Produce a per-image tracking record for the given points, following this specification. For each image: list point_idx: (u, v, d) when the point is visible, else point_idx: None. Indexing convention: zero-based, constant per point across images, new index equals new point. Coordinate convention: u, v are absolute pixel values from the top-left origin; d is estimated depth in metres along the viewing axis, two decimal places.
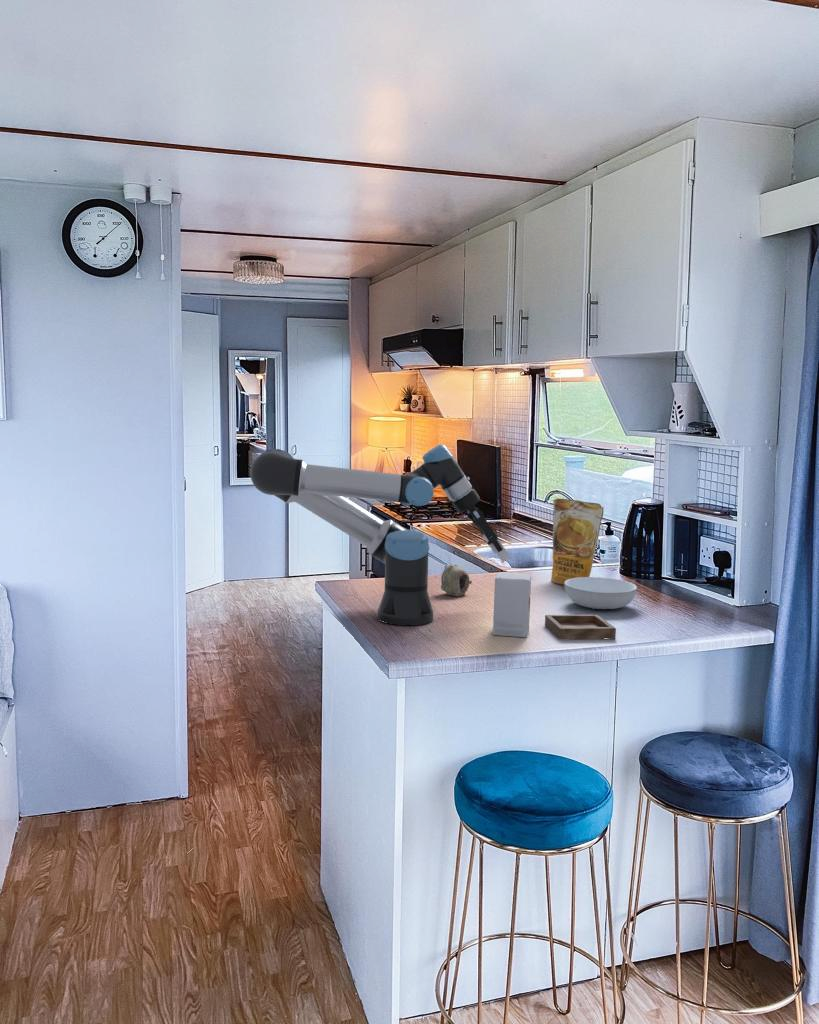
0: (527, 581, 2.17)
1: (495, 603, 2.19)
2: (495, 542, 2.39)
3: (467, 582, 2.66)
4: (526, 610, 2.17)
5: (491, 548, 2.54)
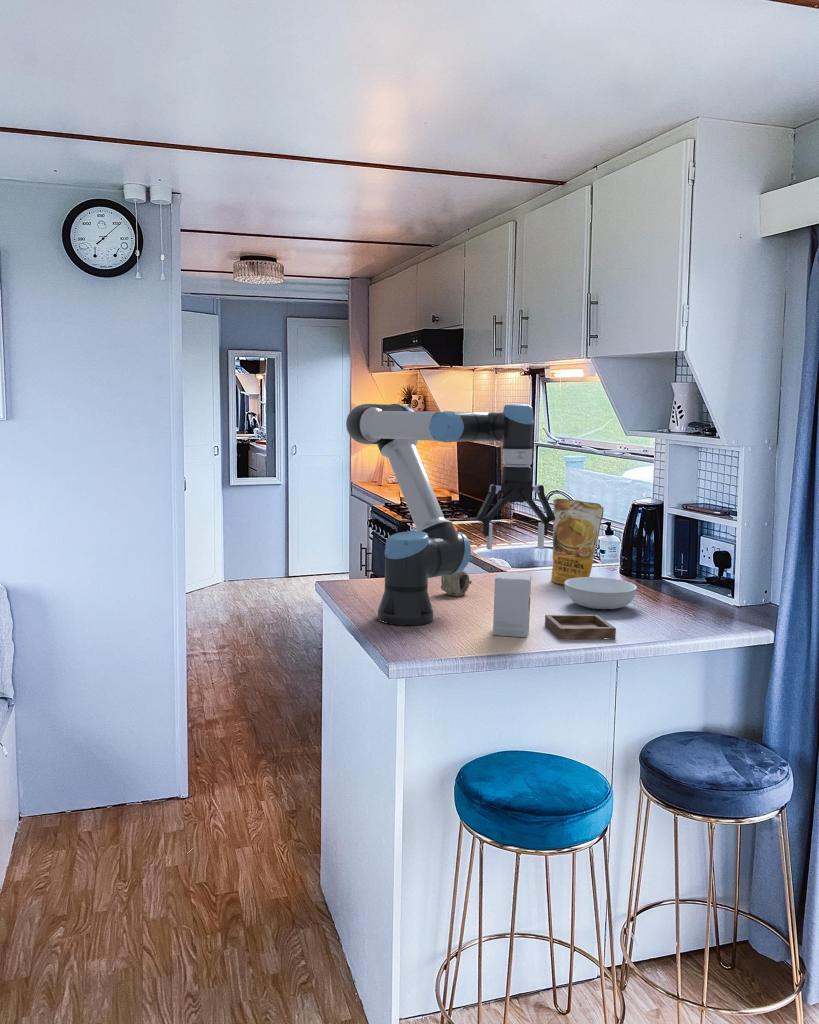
0: (527, 581, 2.17)
1: (495, 603, 2.19)
2: (483, 524, 2.20)
3: (467, 582, 2.66)
4: (526, 610, 2.17)
5: None
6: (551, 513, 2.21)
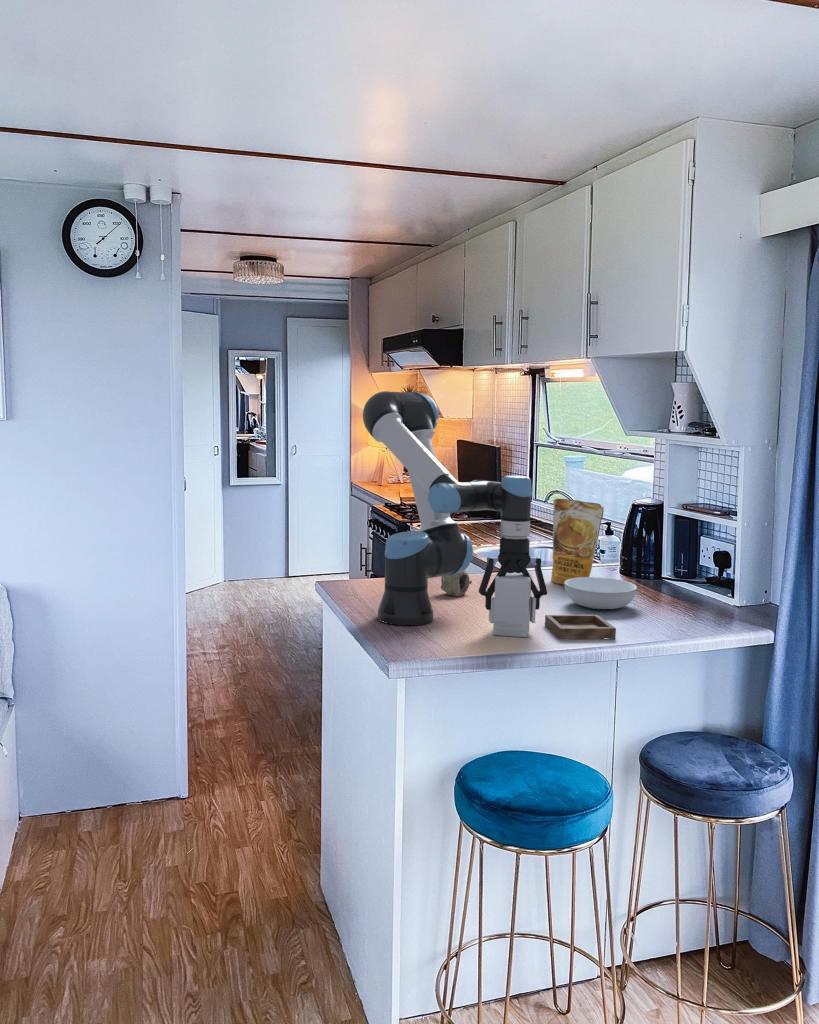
0: (527, 581, 2.17)
1: (495, 603, 2.19)
2: (486, 598, 2.21)
3: (467, 582, 2.66)
4: (526, 610, 2.17)
5: (530, 613, 2.24)
6: (544, 587, 2.21)
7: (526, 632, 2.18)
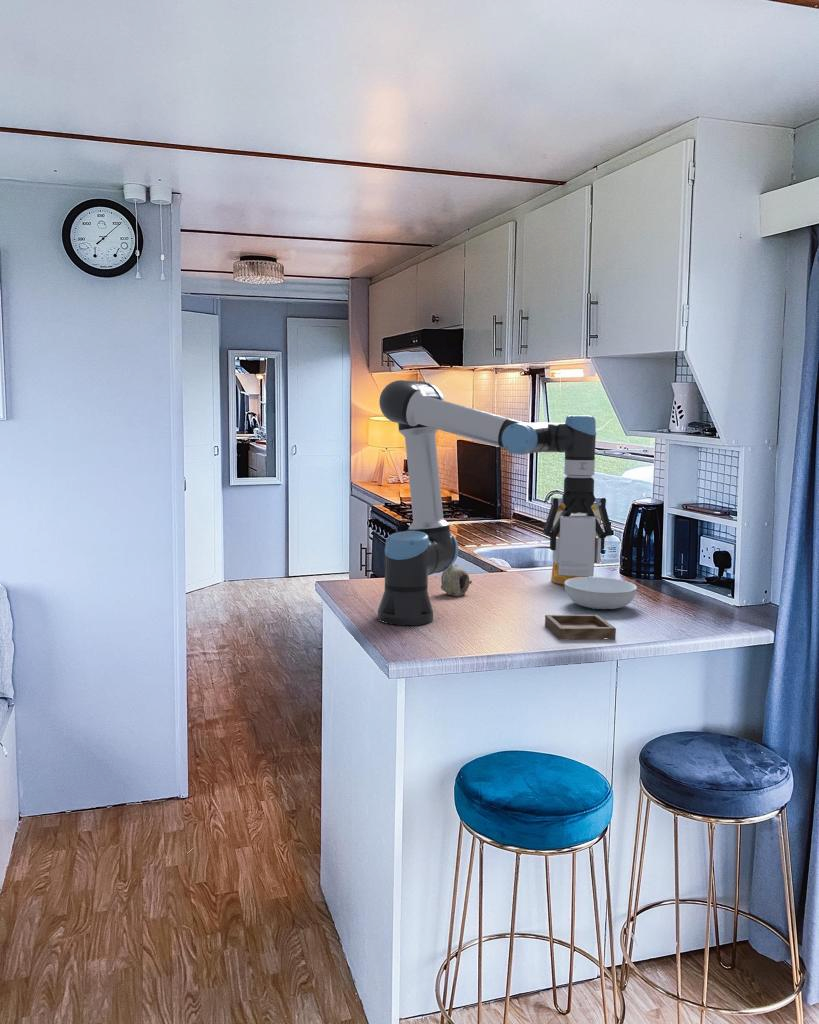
0: (593, 519, 2.16)
1: (561, 543, 2.18)
2: (550, 538, 2.21)
3: (467, 582, 2.66)
4: (592, 549, 2.17)
5: None
6: (609, 527, 2.21)
7: (592, 571, 2.17)
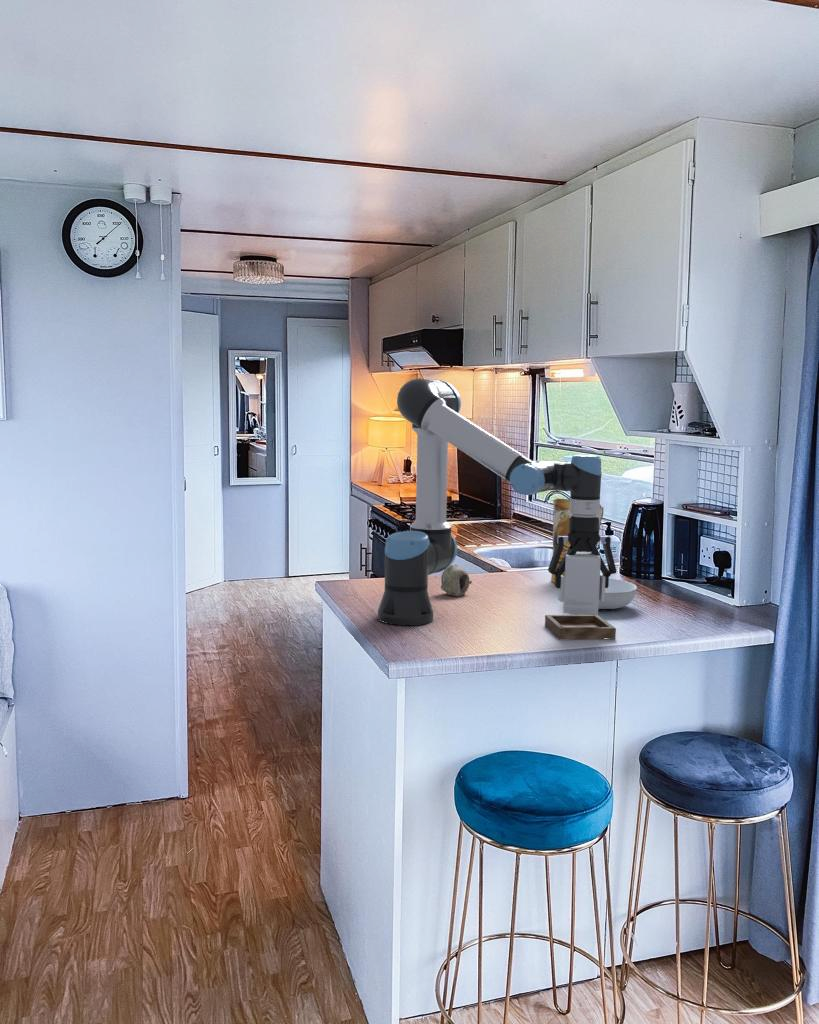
0: (598, 559, 2.18)
1: (566, 581, 2.20)
2: (555, 576, 2.22)
3: (467, 582, 2.66)
4: (597, 588, 2.19)
5: None
6: (613, 566, 2.23)
7: (597, 610, 2.19)
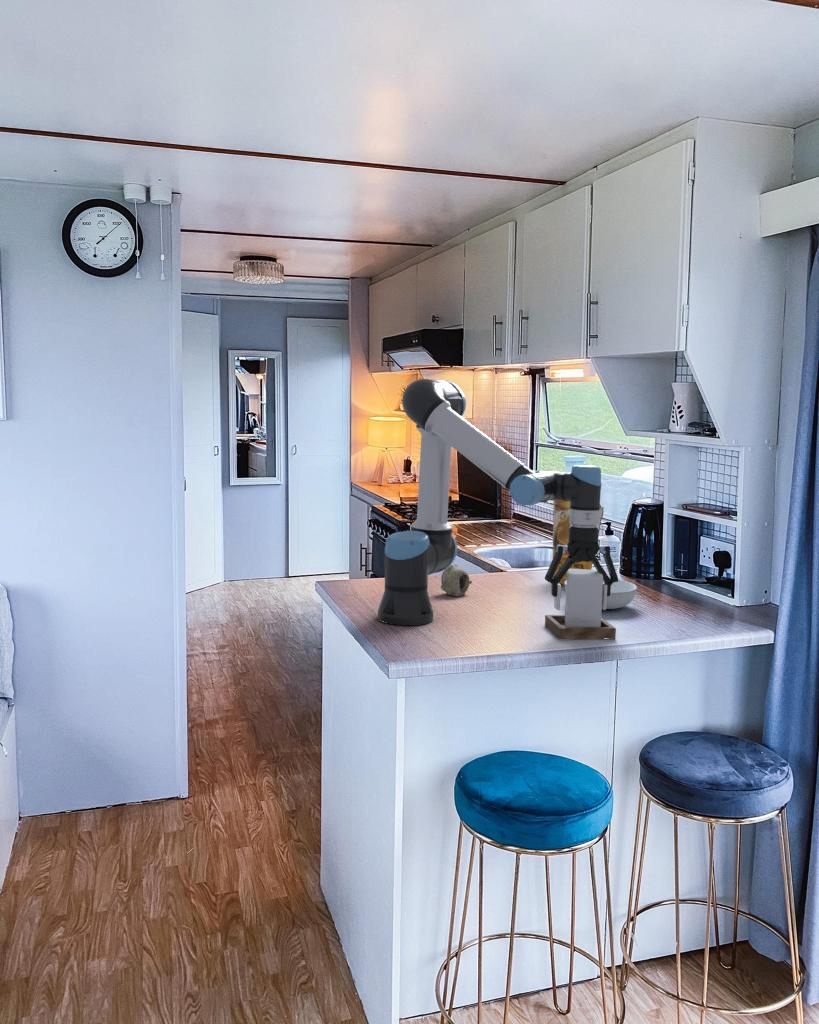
0: (601, 577, 2.19)
1: (568, 599, 2.20)
2: (552, 584, 2.23)
3: (467, 582, 2.66)
4: (600, 606, 2.19)
5: None
6: (615, 574, 2.23)
7: None
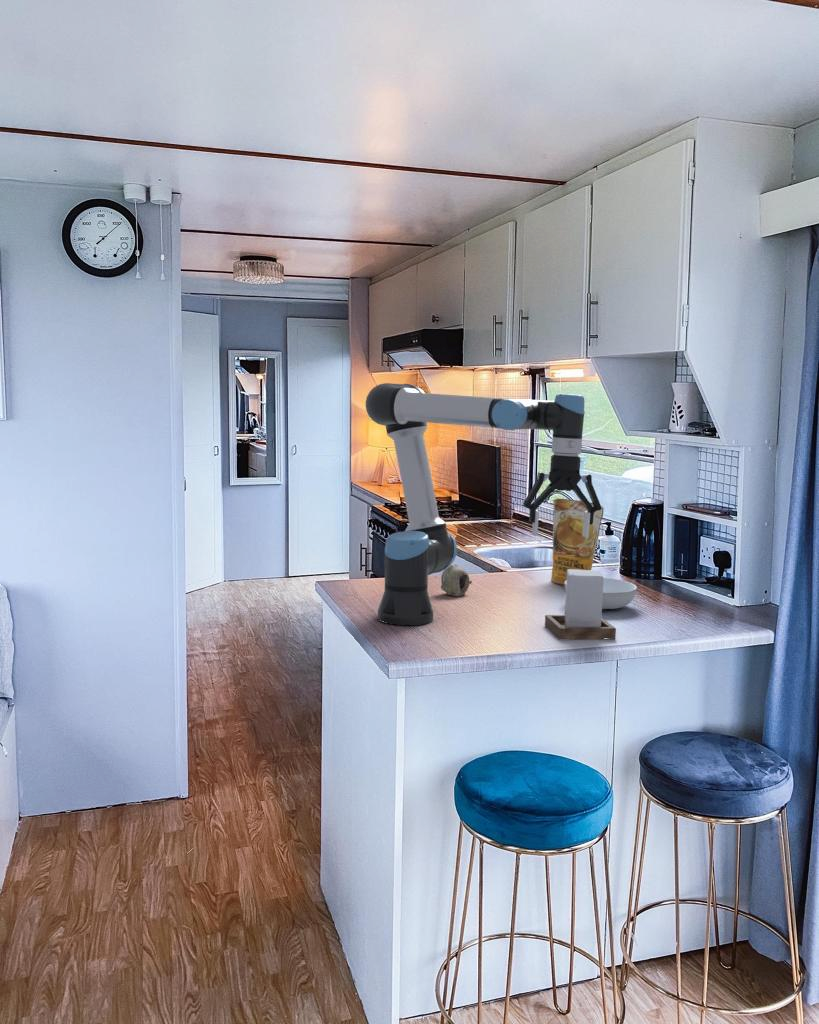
0: (601, 578, 2.19)
1: (569, 600, 2.20)
2: (530, 511, 2.23)
3: (467, 582, 2.66)
4: (600, 606, 2.19)
5: (583, 528, 2.27)
6: (597, 503, 2.24)
7: None
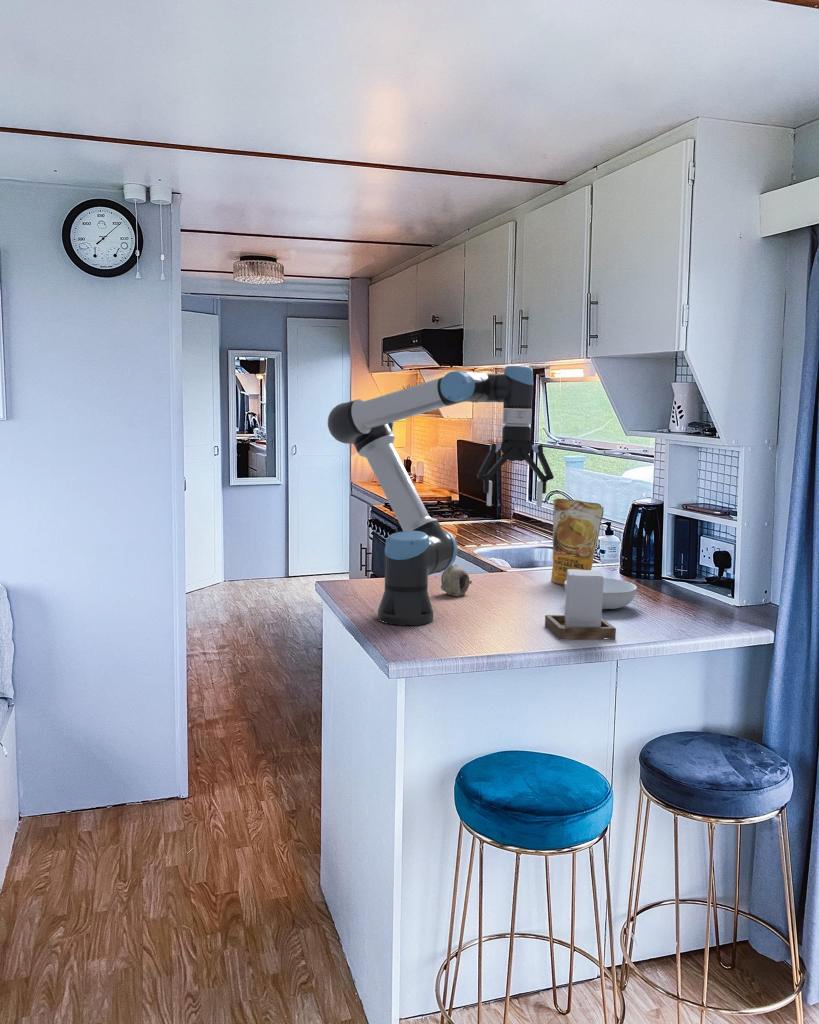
0: (601, 578, 2.19)
1: (569, 600, 2.20)
2: (484, 481, 2.28)
3: (467, 582, 2.66)
4: (600, 606, 2.19)
5: None
6: (549, 472, 2.29)
7: None
